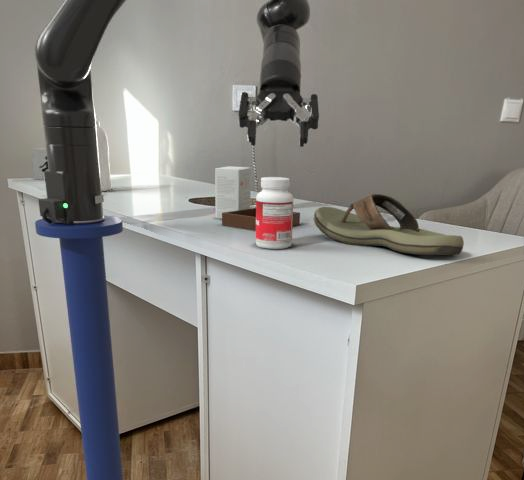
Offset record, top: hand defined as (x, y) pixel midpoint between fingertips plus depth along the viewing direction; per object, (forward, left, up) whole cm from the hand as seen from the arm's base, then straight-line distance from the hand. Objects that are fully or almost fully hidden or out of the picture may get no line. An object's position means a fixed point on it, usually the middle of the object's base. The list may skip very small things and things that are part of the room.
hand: (277, 142), depth 97 cm
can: (+22, +85, -16) cm, 90 cm away
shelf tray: (+8, +9, -16) cm, 20 cm away
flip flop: (+6, -19, -16) cm, 26 cm away
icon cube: (+36, +126, -16) cm, 133 cm away
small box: (+12, +20, -16) cm, 29 cm away
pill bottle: (-8, -6, -16) cm, 19 cm away
